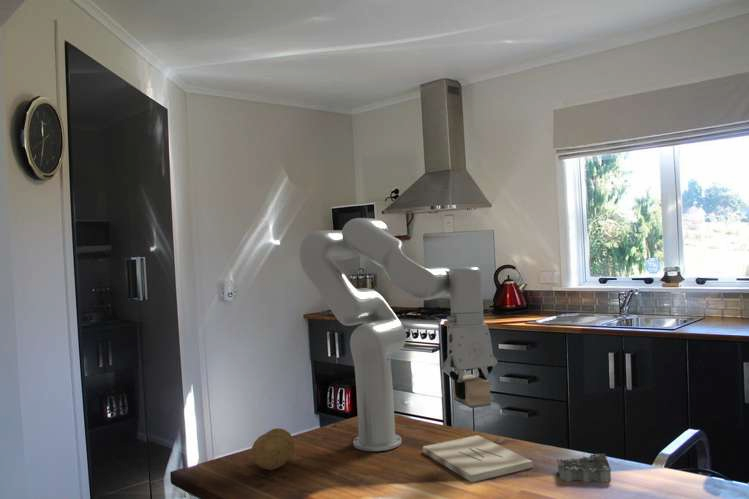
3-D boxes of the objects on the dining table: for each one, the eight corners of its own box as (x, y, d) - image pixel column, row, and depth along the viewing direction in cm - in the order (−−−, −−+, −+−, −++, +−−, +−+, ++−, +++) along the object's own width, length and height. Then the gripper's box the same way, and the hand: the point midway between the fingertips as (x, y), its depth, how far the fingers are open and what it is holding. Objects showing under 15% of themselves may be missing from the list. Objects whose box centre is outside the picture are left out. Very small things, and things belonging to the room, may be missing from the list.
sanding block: (453, 399, 142) (452, 376, 142) (472, 397, 144) (471, 374, 144) (471, 408, 134) (470, 384, 134) (490, 405, 135) (489, 381, 135)
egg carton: (608, 472, 128) (607, 453, 128) (613, 485, 120) (612, 465, 120) (557, 469, 130) (556, 450, 131) (558, 482, 123) (557, 462, 123)
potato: (242, 478, 135) (240, 443, 135) (264, 457, 148) (262, 425, 148) (283, 479, 133) (281, 443, 133) (301, 457, 147) (300, 425, 147)
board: (422, 452, 145) (422, 446, 145) (477, 441, 152) (477, 435, 152) (471, 482, 125) (471, 475, 125) (532, 467, 131) (532, 460, 131)
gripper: (443, 324, 132) (448, 405, 132) (507, 317, 139) (511, 394, 138) (427, 321, 139) (432, 398, 139) (488, 314, 145) (492, 388, 145)
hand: (471, 395), depth 139 cm, fingers closed on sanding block, 5 cm apart
